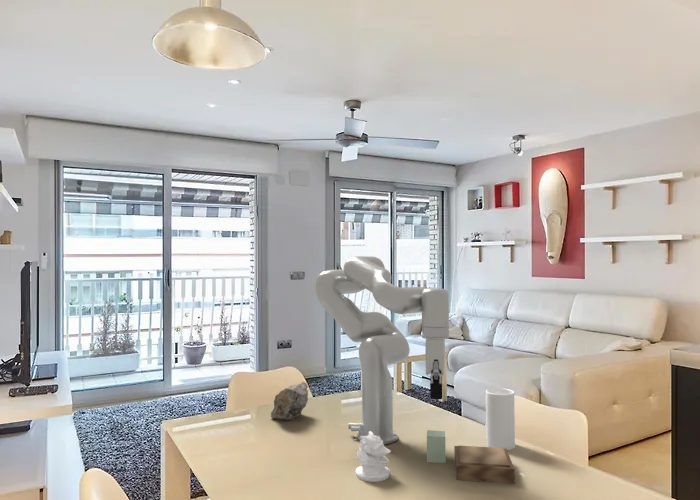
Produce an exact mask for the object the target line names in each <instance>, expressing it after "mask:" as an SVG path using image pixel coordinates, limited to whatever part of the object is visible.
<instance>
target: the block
mask: <svg viewBox="0 0 700 500" xmlns="http://www.w3.org/2000/svg"><path fill="white" fill-rule="evenodd" d="M446 456H447V455H446V431H445V430H430V429H429V430H428V429H427V430H426V462H427V463H440V464H441V463H442V464H446V461H447V459H446Z"/></svg>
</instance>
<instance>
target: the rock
mask: <svg viewBox="0 0 700 500" xmlns="http://www.w3.org/2000/svg"><path fill="white" fill-rule="evenodd" d="M308 385H309V384H307V382H305V381H302V382H301V383H299V384H292V385H289V386H287V387H285V388H284V389H282V390H280V391H279V392H278V394H276V395H275V397H274V400H273V410H272V411H271V412H270V417H271V418H274V419H279V420H282V421H283V420H285V421H287V420H288V421H289V420H290V421H291V420H294V419H295V418H297V417H300V416H302V412H303V410H304V408H305V407H307V404H308V400H309V398H308V397H309V394H308V393H309V390H308V387H309V386H308Z"/></svg>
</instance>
